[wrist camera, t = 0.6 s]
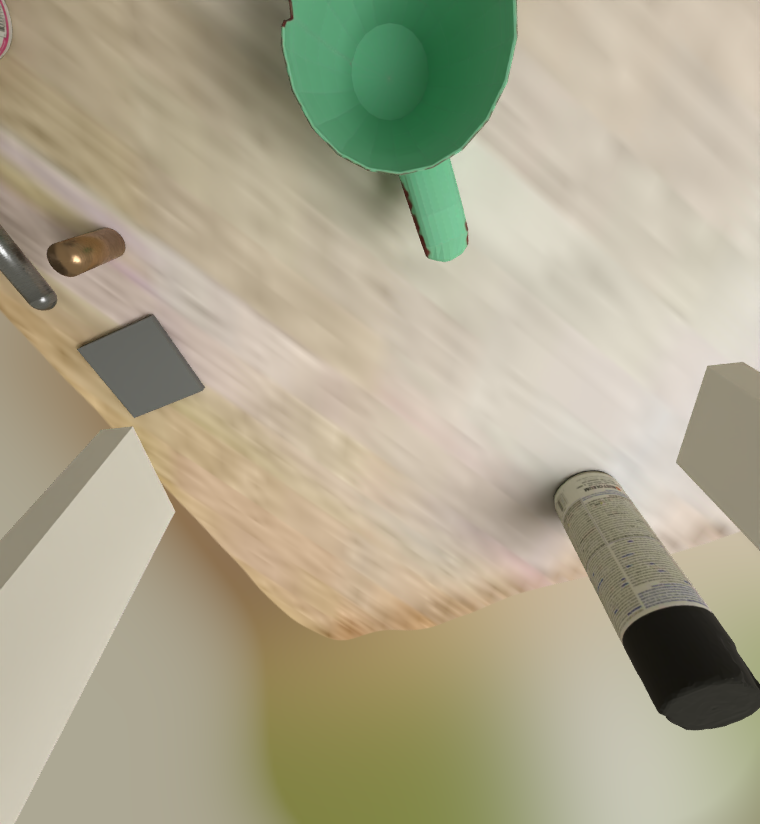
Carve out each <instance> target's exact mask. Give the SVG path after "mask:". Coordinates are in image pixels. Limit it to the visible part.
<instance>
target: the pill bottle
mask: <svg viewBox="0 0 760 824" xmlns="http://www.w3.org/2000/svg"><path fill="white" fill-rule="evenodd" d="M11 40H12V23H11V18H10V14H9V11H8V8H7V6H6V3H5V1H4V0H0V59H1V58H2V57H3V56H4V55H5V54H6V52H7V51H8V49H9V47H10V44H11Z"/></svg>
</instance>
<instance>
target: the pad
mask: <svg viewBox="0 0 760 824" xmlns="http://www.w3.org/2000/svg"><path fill="white" fill-rule="evenodd" d="M77 350H78V351H79V352H80V353H81V355H82V356H83V357H84V358H85V359H86V361H87V362H88V363H89V364H90V365H91V367H92V368H93V369H94V370H95V371H96V373H97V374H98V375H99V376H100V377H101V379H102V380H103V381H104V382H105V383H106V385H107V386H108V387H109V388H110V389H111V390H112V392H113V393H114V394H115V395H116V396H117V398H118V399H119V400H120V401H121V402H122V404H123V405H124V406H125V407H126V408H127V410H128V411H129V412H130V413H131V414H132V416H133V417H134V418H135V417H138V416H140V415H143V414H145V413H148V412H150V411H153V410H155V409H158V408H160V407H163V406H165V405H168V404H170V403H173V402H175V401H178V400H180V399H183V398H185V397H188V396H190V395H193V394H195V393H198V392H200V391H203V389H204V388H205V387H204V386H203V384H202V383H201V381H200V380H199V378H198V377H197V376H196V374H195V373H194V371H193V370H192V369H191V367H190V366H189V364H188V363H187V361H186V360H185V359H184V357H183V356H182V354H181V353H180V352H179V350H178V349H177V347H176V346H175V344H174V343H173V342H172V340H171V339H170V337H169V336H168V334H167V333H166V332H165V330H164V329H163V327H162V326H161V325H160V323H159V322H158V320H157V319H156V317H155V316H154V315H151V316H148V317H146V318H144V319H142V320H140V321H137V322H135V323H133V324H131V325H128V326H126V327H124V328H122V329H119V330H117V331H115V332H113V333H111V334H108V335H106V336H104V337H102V338H99V339H97V340H95V341H93V342H90V343H88V344H86V345H84V346H82V347H80V348H79V349H77Z"/></svg>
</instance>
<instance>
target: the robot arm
mask: <svg viewBox="0 0 760 824" xmlns="http://www.w3.org/2000/svg"><path fill="white" fill-rule="evenodd" d="M676 463H677V464H678V465H679V466H680V467H681V468H682V469H683V470H684V471H685V472H686V473H687V474H688V476H689V477H690V478H691V479H692V480H693V481H694V482H695V483H696V484H697V485H698V486H699V487H700V488H701V489H702V490H703V491H704V492H705V493H706V494H707V496H708V497H709V498H710V499H711V500H712V501H713V502H714V503H715V504H716V505H717V506H718V507H719V508H720V509H721V510H722V511H723V512H724V513H725V515H726V516H727V517H728V518H729V519H730V520H731V521H732V522H733V523H734V524H735V525H736V526H737V527H738V528H739V529H740V530H741V531H742V532H743V533H744V534H745V536H746V537H747V538H748V539H749V540H750V541H751V542H752V543H753V544H754V545H755V546H756V547H757V548H758V549H759V550H760V372H758V371H757V370H755V369H753V368H752V367H750V366H748V365H747V364H745V363H743V362H739V363H730V364H720V365H711V366H707V369H706V372H705V375H704V378H703V381H702V384H701V387H700V390H699V393H698V396H697V400H696V403H695V406H694V409H693V412H692V415H691V418H690V421H689V424H688V427H687V430H686V433H685V436H684V439H683V443H682V446H681V449H680V452H679V455H678V458H677V461H676ZM174 513H175V510H174V508H173V506H172V504H171V502H170V500H169V498H168V496H167V494H166V492H165V490H164V488H163V486H162V484H161V482H160V480H159V478H158V476H157V474H156V472H155V470H154V468H153V466H152V464H151V462H150V460H149V458H148V456H147V454H146V452H145V450H144V448H143V446H142V444H141V442H140V440H139V438H138V436H137V434H136V432H135V430H134V428H133V427H124V428H114V429H105V430H101V431H100V432H99V433H98V434H97V435H96V436H95V437H94V438H93V439H92V440H91V442H90V443H89V444H88V445H87V446H86V447H85V448H84V449H83V450H82V452H80V454H79V455H78V456H77V457H76V458H75V459H74V460H73V461H72V462H71V464H70V465H69V466H68V467H67V468H66V469H65V470H64V471H63V472H62V474H60V476H59V477H58V478H57V479H56V480H55V481H54V482H53V483H52V484H51V485H50V487H49V488H48V489H47V490H46V491H45V492H44V493H43V494H42V495H41V496H40V497H39V499H38V500H37V501H36V502H35V503H34V504H33V505H32V506H31V507H30V509H29V510H28V511H27V512H26V513H25V514H24V515H23V516H22V517H21V518H20V519H19V521H18V522H17V523H16V524H15V525H14V526H13V527H12V528H11V529H10V530H9V531H8V533H7V534H6V535H5V536H4V537H3V538H2V539H1V540H0V824H15V822H16V820H17V818H18V816H19V814H20V812H21V810H22V808H23V806H24V804H25V802H26V800H27V798H28V796H29V795H30V793H31V791H32V789H33V787H34V785H35V783H36V781H37V779H38V777H39V775H40V773H41V771H42V769H43V767H44V765H45V763H46V761H47V760H48V758H49V756H50V754H51V752H52V749H53V748H54V746H55V744H56V742H57V740H58V738H59V736H60V734H61V732H62V730H63V728H64V726H65V725H66V723H67V721H68V719H69V717H70V715H71V713H72V711H73V709H74V707H75V705H76V703H77V701H78V699H79V697H80V695H81V693H82V691H83V690H84V688H85V686H86V684H87V682H88V680H89V678H90V676H91V674H92V672H93V670H94V668H95V666H96V664H97V662H98V660H99V658H100V656H101V655H102V652H103V651H104V649H105V647H106V645H107V643H108V641H109V639H110V637H111V635H112V633H113V631H114V629H115V627H116V625H117V623H118V622H119V620H120V617H121V616H122V614H123V612H124V610H125V608H126V606H127V604H128V602H129V600H130V598H131V596H132V594H133V592H134V590H135V589H136V586H137V585H138V583H139V581H140V579H141V577H142V575H143V573H144V571H145V569H146V567H147V565H148V563H149V561H150V559H151V557H152V555H153V554H154V552H155V550H156V548H157V546H158V544H159V542H160V540H161V538H162V536H163V534H164V532H165V530H166V528H167V526H168V524H169V522H170V520H171V519H172V517H173V515H174Z"/></svg>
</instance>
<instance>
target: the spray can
mask: <svg viewBox="0 0 760 824" xmlns="http://www.w3.org/2000/svg"><path fill="white" fill-rule="evenodd" d="M554 502H555V503H554V504H555V509H556V512H557V514H558V516H559V518H560V520H561V522H562V524H563V526H564V528H565V530H566V533H567V534H568V536H569V539H570V540H571V542H572V544H573V546H574V548H575V550H576V552H577V554H578V556H579V558H580V560H581V562H582V564H583V566H584V568H585V570H586V572H587V574H588V576H589V578H590V581H591V582H592V584H593V586H594V588H595V590H596V592H597V594H598V596H599V598H600V600H601V602H602V604H603V606H604V608H605V610H606V612H607V614H608V616H609V618H610V620H611V622H612V624H613V626H614V628H615V631H616V632H617V635H618V636H619V638H620V640H621V642H622V644H623V646H624V648H625V650H626V652H627V654H628V656H629V658H630V660H631V662H632V664H633V666H634V668H635V670H636V671H637V673H638V675H639V676H640V678H641V680H642V682H643V684H644V686H645V688H646V690H647V692H648V694H649V696H650V698H651V700H652V701H653V704H654V705H655V707H656V709H657V711H658V712H659V713H660V714H662V715H664V716H666V718H667V719H668V720H669V721H670V722H672V723H673V724H676V725H678V726H680V727H682V728H684V729H686V730H704V729H713V728H717V727H723V726H727V725H729V724H731V723H734V722H737V721H740V720H742V719H744V718H746V717H748V716H750V715H752V714H753V713H754V712H755V711H757V710H758V709H759V708H760V684H759V682H758V681H757V680H756V679H755V678H754V676H753V674H752V673H751V671H750V670H749V668H748V667H747V666H746V664H745V662H744V661H743V660H742V658H741V657H740V655H739V654H738V652H737V650H736V646H735V644H734V642H733V641H732V639H731V638H730V637H729V635H728V634H727V632H726V631H725V630H724V628H723V627H722V626H721V624H720V623H719V621H718V620H717V618H716V617H715V616H714V614H713V613H712V611H711V610H710V608H709V607H708V606H707V604H706V603H705V602H704V600H703V599H702V598H701V596H700V595H699V593H698V592H697V590H696V589H695V588H694V586H693V585H692V583H691V582H690V581H689V579H688V578H687V577H686V575H685V574H684V572H683V571H682V570H681V568H680V567H679V566H678V564H677V563H676V562H675V560H674V559H673V557H672V556H671V555H670V553H669V552H668V551H667V549H666V548H665V546H664V545H663V544H662V542H661V541H660V540H659V538H658V537H657V535H656V534H655V533H654V531H653V530H652V529H651V527H650V526H649V524H648V523H647V522H646V520H645V519H644V518H643V516H642V515H641V513H640V512H639V511H638V509H637V508H636V507H635V505H634V504H633V502H632V501H631V500H630V498H629V497H628V496H627V494H626V493H625V491H624V490H623V489H622V487H621V486H620V484H619V483H618V482H617V481H616V480H615V479H614V478H613V477H612V476H610V475H608V474H606V473H604V472H600V471H588V472H584V473H580V474H577V475H575V476H573V477H571V478H569V479H568V480H567V481H566V482H565V483H564V484H563V485H561V486H560V487H559V489H558V490H557V492H556V494H555V496H554Z"/></svg>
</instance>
